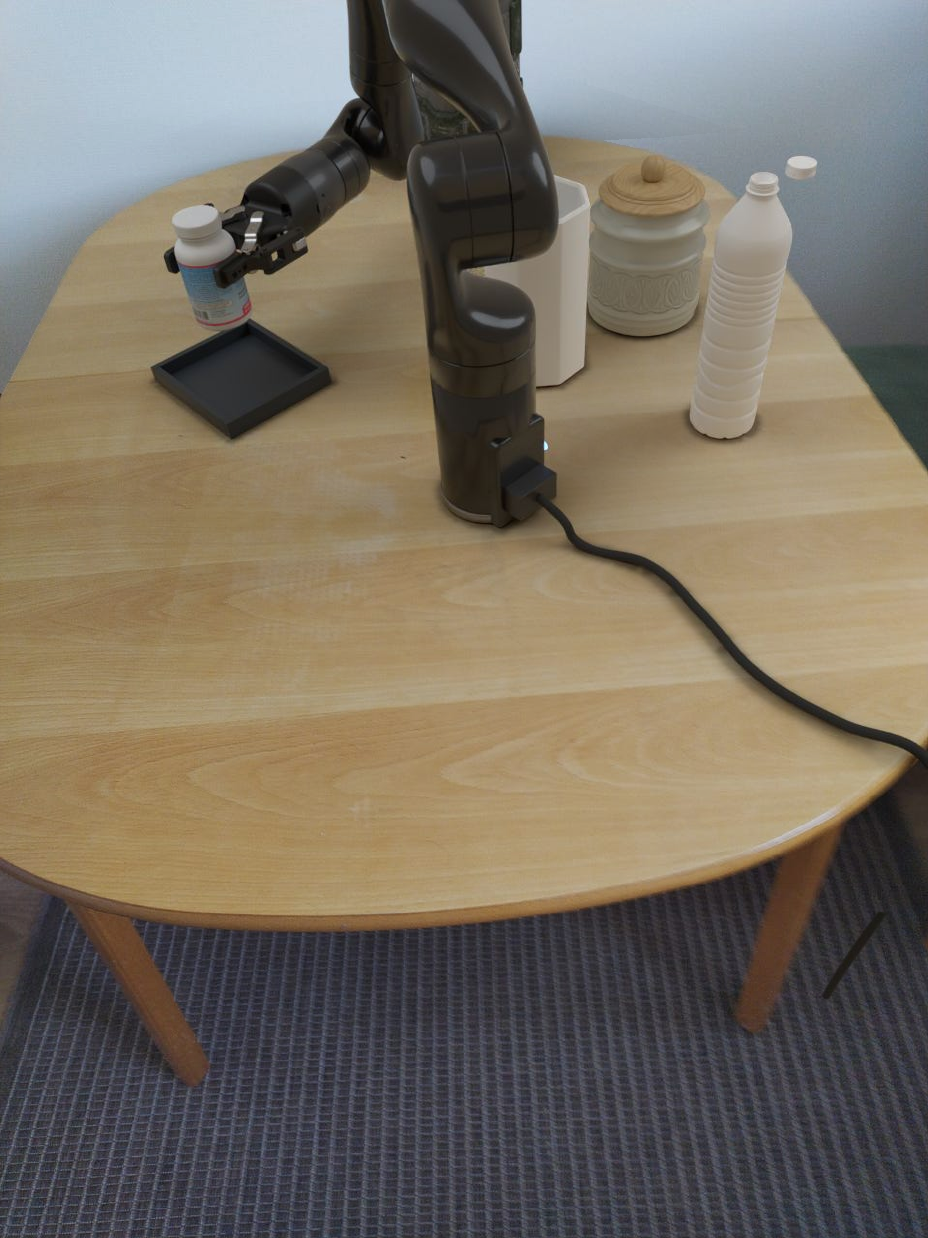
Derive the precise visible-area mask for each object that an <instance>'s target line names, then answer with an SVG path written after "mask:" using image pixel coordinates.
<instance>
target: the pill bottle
mask: <svg viewBox="0 0 928 1238" xmlns="http://www.w3.org/2000/svg"><path fill="white" fill-rule="evenodd" d="M218 212H219V210H218V209H217V208H216V207H215V206H214V207H211V206H207V205H204V204H199V205H191V206H188V207H186V208H183V209H181V210H179V211H177V212H175V214H174V215H173V216H172V219H171V223H172V226H173V229H174V234H175V235H176V237H177V240H176V242H175V243H174V246H175V248H174V252H175V257H176V260H177V263H178V266H179V269H180V272H179V273H180V275H181V278H182V282H183V284H184V288H185V290H186V294H187V297H188V300H189V303H190V306H191V309H192V313H193V315H194V318H195V321H196V323H197V325H198V326H199V327H201V328H202V329H204V330H206V331H210V332H221V331H225V330H229V329H232V328H235V327H237V326H240V325H242V324H243V323H245V322H246V321H247V320H248V319H249V318H250V319H251V317H252V314H253V306H252V302H251V301H252V300H251V298H250V294H249V290H248V287H247V283H246V280H245V276H243V277H242V278H240V279H239V280H238V281H237V282H235V283H234V284H231V285H230V286H228V287H227V288H226V289H223V288H219V287H217V285H216V282H215V278H214V275H213V268H214V267H215V266H216V265H218V264H219V263H221V262H222V261H223V260H225V259H226V258H228V257H229V256H230V255H232V254H233V253H234V252H236V251H237V252H238V250H236V247H235V243H234V240H233V238H232V236H231V235H230V234H229V233H228V232H227V231H225V230H223V229H221V228H222V222H221V219H220V216H219V213H218Z"/></svg>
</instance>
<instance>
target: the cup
mask: <svg viewBox="0 0 928 1238" xmlns="http://www.w3.org/2000/svg"><path fill="white" fill-rule="evenodd" d="M553 175H554V179H555V185H556V190H557V196H558V209H559V222H558V230H557V234H556V238H555V240H554V242H553V244H552V246H551V247H550V249H549V250H548V251H547V252H545V253H544V254H542V255H540V256H537V257H535V258H531V259H527V260H523V261H518V262H512V263H506V264H500V265H493V266H486V267H483V270H484V271H483V273H484V275H483V276H484V277H488V278H493V279H498V280H501V281H505V282H507V283H510V284H512V285H514V286H516V287H518V288H520V289H521V290H522V291H524V292H525V293H526V294H527V295H528V296H529V298H530V299H531V301H532V302H533V305H534V308H535V314H536V387H547V386H559V385H561V384H563V383H564V382H565V381H566V380H568V379H569V378H571V377H572V376H574V375H576V373H578V372H579V371H580V370H581V369H583V368H584V366H585V354H586V353H585V351H586V330H587V329H586V328H587V327H586V325H587V324H586V323H587V304H588V302H587V287H588V279H589V254H590V247H589V238H590V226H591V225H590V224H591V217H590V209H591V203H590V200H589V196H588V192H587V189H586V186H585V185H584V184H582V183H579V182H577V181H574V180H571V179H568V178H564V177H562V176H560V175H559V176H558V175H555V174H553Z"/></svg>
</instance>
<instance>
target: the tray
mask: <svg viewBox="0 0 928 1238" xmlns="http://www.w3.org/2000/svg"><path fill="white" fill-rule="evenodd" d="M150 370H151V373H152V376H153V379H154V381H155V383H157V384H158V385H159V386H160V387H162V388H163V389H165V391H167V392H168V393H169V394H171V395H173V396H174V397H175V398H177V400H179V401H180V402H182V403H183V404H184V405H186V406H187V407H189V408H190V409H191V410H192V411H193V412H195V413H196V414H198V415H199V416H200V417H202V418H203V419H204V420H206V421H207V422H208V423H210V424H211V425H212V426H213V427H214V428H216V429H218V430H219V431H220V432H222V433H223V434H224V435H225V436H226V437H228V438H229V439H231V440H233V439H235V438H236V437H238V436H240V435H241V434H243V433H245V432H247V431H249V430H250V429H253V428H254V427H256V426H257V425H259V424H261V423H263V422H265V421H267V420H268V419H270V418H271V417H273V416H275V415H277V414H279V413H281V412H282V411H284V410H286V409H287V408H289V407H291V406H293V405H295V404H297V403H298V402H300V401H302V400H303V399H305V398H307V397H309V396H311V395H312V394H314V393H316V392H317V391H319V390H321V389H323V388H324V387H325V388H326V386H328V385H330V384H331V383H332V378H331V373H330V368H329V367H328V366H327V365H325V364H324V363H322V362H321V361H319V360H317V359H316V358H314V357H312V356H311V355H309V354H308V353H307V352H305V351H303V350H301V349H299V347H296V346H295V345H294V344H292V343H290V342H288V341H287V340H285V339H284V338H282V337H281V336H279V335H277V334H276V333H274V332H273V331H272V330H270V329H268V328H266V327H265V326H263V325H262V324H260V323H259V322H257V321H255V320H254V319H252V318H251V317H250V318H249V319H248V320H247V321H246V322H245V323H243V324H242V325H240V326H237V327H235V328H232V329H229V330H225V331H218V332H217V333H215V334H213V335H211V336H209V337H207V338H205V339H203V340H201V341H198V342H197V343H195V344H193V345H191V346H189V347H187V348H185V349H183V350H181V351H179V352H177V353H175V354H172V355H171V356H169V357H167V358H166V359H163V360H161V361H159V362H157V363H155V364H154V365H151V366H150Z"/></svg>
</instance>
